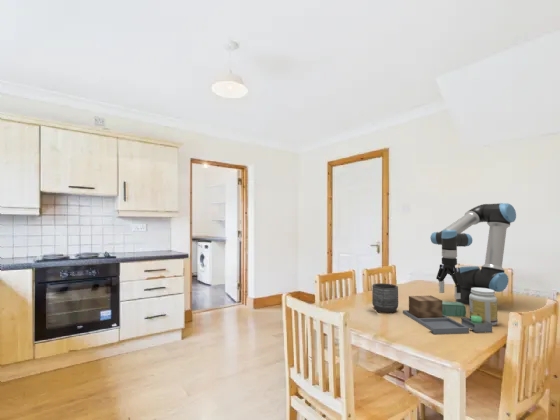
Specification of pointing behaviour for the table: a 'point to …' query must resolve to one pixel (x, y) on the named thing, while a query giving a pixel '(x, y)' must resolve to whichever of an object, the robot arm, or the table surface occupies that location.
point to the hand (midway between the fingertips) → (449, 295)
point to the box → (453, 309)
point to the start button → (476, 319)
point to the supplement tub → (483, 304)
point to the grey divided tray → (440, 324)
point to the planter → (385, 297)
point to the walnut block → (425, 307)
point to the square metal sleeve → (477, 325)
